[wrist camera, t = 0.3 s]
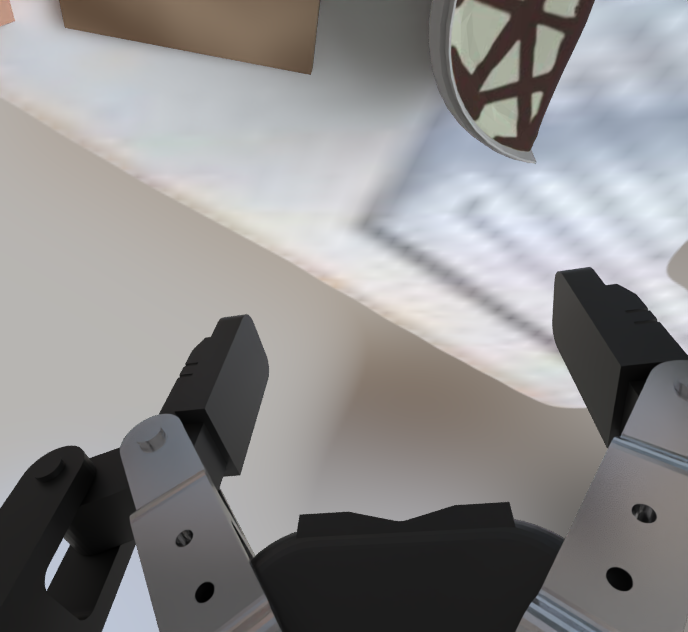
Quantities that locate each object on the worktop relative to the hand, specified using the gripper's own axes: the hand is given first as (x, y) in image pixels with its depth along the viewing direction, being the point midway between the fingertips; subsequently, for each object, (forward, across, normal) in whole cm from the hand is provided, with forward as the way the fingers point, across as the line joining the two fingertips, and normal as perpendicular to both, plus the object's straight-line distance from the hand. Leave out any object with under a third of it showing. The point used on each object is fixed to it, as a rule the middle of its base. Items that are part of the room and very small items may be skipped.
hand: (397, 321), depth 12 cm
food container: (+21, -6, -7) cm, 23 cm away
